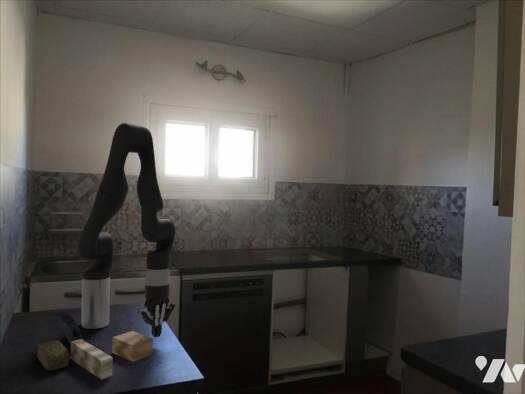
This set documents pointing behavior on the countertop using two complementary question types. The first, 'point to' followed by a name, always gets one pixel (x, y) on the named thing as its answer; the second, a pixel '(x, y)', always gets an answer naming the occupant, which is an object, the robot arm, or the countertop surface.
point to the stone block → (53, 355)
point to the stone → (68, 326)
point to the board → (91, 359)
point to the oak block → (132, 346)
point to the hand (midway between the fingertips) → (156, 336)
